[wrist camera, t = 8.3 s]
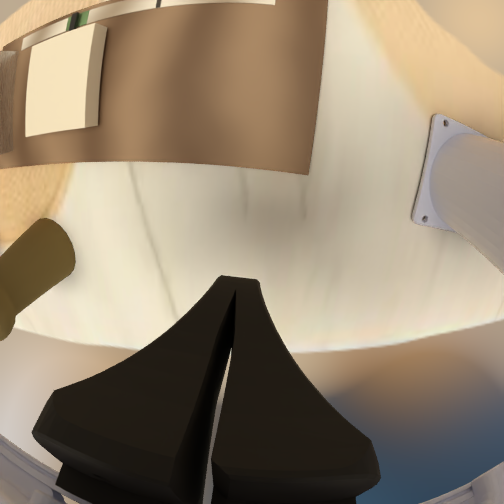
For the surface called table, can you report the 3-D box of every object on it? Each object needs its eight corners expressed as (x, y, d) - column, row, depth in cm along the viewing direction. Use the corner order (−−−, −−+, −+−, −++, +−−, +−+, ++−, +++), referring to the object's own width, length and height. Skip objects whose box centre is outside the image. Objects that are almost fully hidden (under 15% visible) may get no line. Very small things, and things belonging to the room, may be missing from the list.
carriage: (112, 3, 10) (101, -3, 9) (97, 125, 14) (84, 127, 13) (49, 25, 10) (36, 23, 9) (38, 133, 14) (25, 137, 13)
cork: (26, 216, 19) (-57, 276, 9) (69, 220, 19) (-24, 296, 9) (38, 271, 22) (-27, 339, 12) (81, 281, 22) (13, 366, 12)
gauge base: (325, -1, 11) (328, -8, 10) (306, 171, 17) (308, 175, 16) (10, 47, 11) (2, 46, 10) (5, 166, 17) (-3, 169, 16)
